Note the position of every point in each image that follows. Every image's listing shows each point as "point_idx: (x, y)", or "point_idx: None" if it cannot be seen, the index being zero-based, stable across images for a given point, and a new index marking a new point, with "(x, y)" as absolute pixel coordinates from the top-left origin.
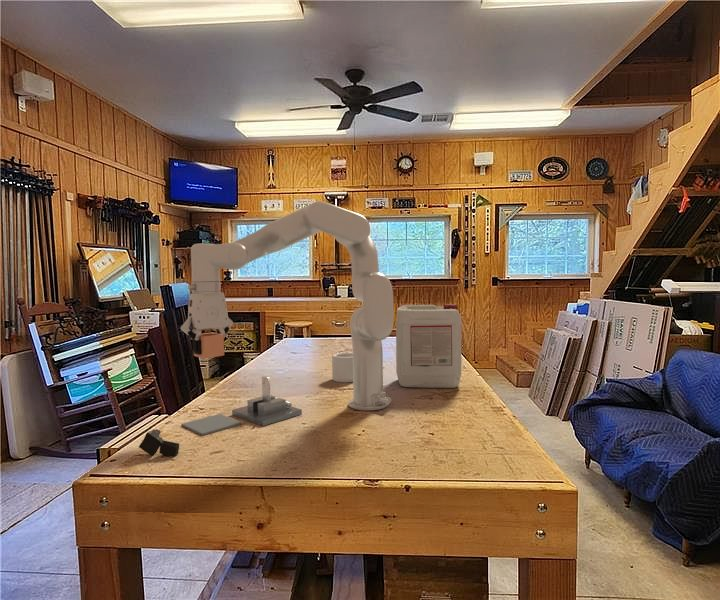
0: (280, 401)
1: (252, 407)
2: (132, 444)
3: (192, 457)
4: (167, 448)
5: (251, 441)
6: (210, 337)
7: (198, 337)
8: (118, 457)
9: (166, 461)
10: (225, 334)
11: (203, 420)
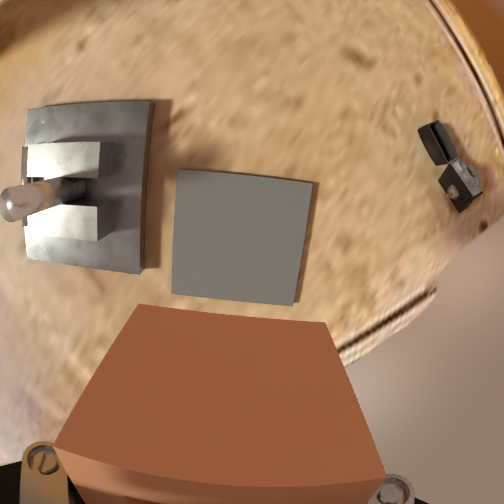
0: (44, 143)
1: (105, 207)
2: (426, 278)
3: (407, 86)
4: (444, 140)
5: (258, 36)
6: (277, 466)
7: (376, 501)
8: (473, 231)
9: (446, 122)
10: (26, 453)
11: (238, 281)
